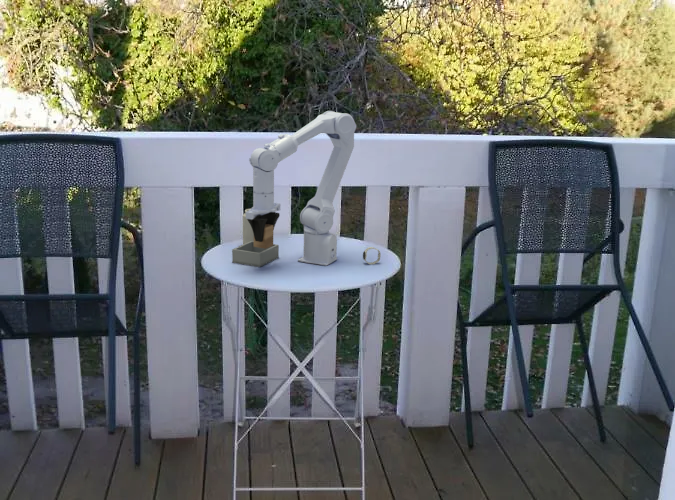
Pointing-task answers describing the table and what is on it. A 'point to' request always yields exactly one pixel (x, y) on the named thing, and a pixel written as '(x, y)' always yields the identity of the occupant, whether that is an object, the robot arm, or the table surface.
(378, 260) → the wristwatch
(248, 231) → the can
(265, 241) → the walnut block
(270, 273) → the table surface
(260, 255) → the bin
